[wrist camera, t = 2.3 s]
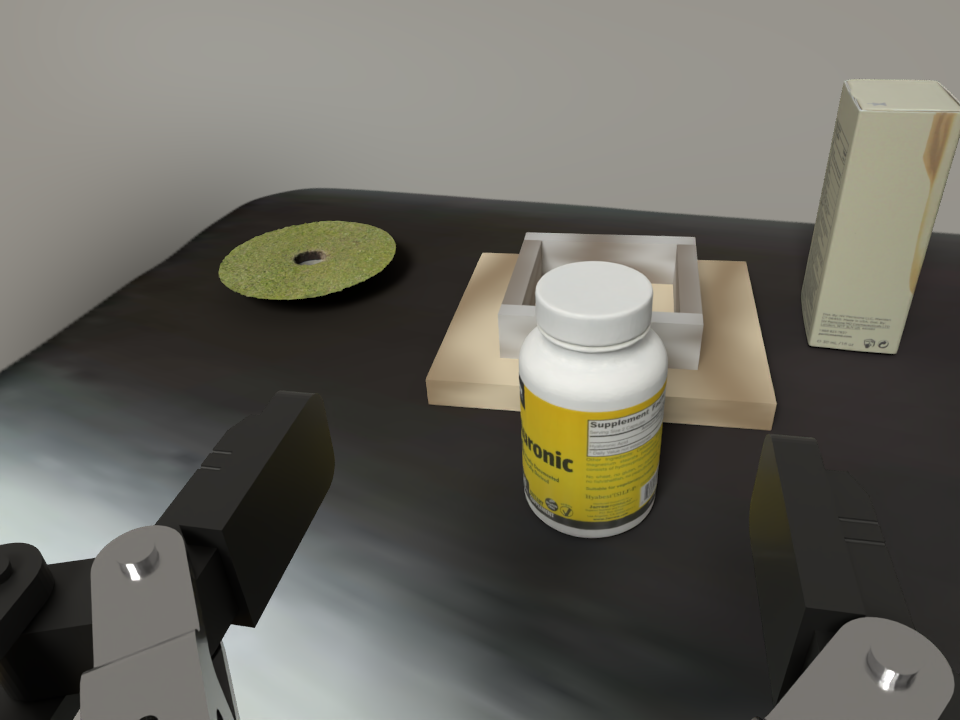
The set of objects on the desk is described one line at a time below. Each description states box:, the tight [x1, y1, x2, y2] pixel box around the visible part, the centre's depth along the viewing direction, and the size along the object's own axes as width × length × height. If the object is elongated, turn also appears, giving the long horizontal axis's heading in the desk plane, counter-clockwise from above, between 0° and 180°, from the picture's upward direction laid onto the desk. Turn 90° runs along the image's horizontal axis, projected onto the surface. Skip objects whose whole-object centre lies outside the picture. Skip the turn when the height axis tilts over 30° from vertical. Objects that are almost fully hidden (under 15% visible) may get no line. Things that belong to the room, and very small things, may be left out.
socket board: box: [426, 233, 777, 430], centre depth 39 cm, size 16×14×4 cm
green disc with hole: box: [219, 221, 396, 300], centre depth 47 cm, size 11×11×2 cm
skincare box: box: [801, 79, 960, 354], centre depth 37 cm, size 6×4×12 cm
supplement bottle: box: [519, 261, 668, 538], centre depth 27 cm, size 5×5×10 cm
